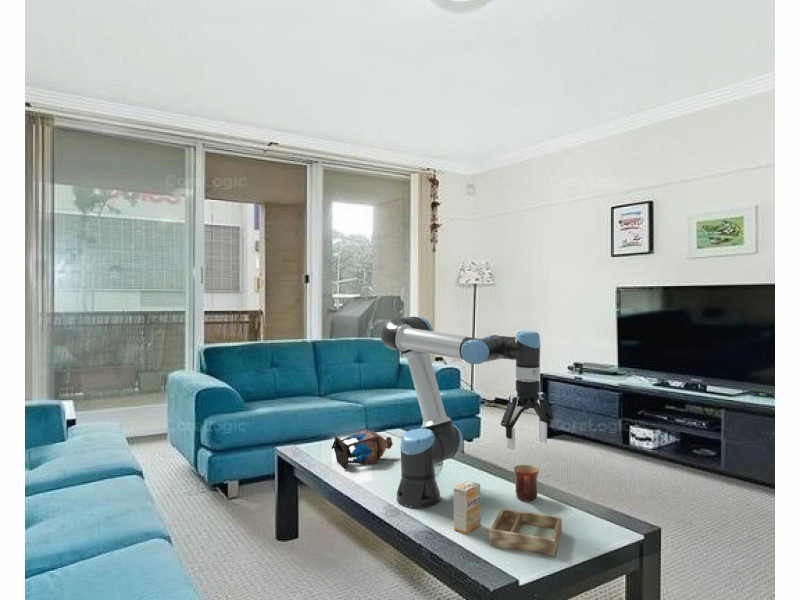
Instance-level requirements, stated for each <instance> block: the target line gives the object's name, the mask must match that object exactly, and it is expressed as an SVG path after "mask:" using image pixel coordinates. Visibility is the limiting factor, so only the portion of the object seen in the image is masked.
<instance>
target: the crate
mask: <svg viewBox="0 0 800 600" xmlns="http://www.w3.org/2000/svg"><path fill="white" fill-rule="evenodd" d="M562 526H563V525H562V517H560V516H554V515H548V514H543V513H542V514H541V513H535V512H528V511H521V510H513V509H507V508H500V511H499V512H498V514H497V516H496V517H495V519H494V521H493V523H492V524H491V526H490V528H489V531H488V534H489V535H488V536H489V541H488V542H489V543H488V544H489V547H495V548H501V549H506V550H510V551H517V552H523V553H527V554H535V555H539V556H546V557H550V558H551V557H552V558H555V557H556V554H557V550H558V548H559V547H558V546H559V543H560V541H561V536H562V531H563V529H562Z"/></svg>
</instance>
